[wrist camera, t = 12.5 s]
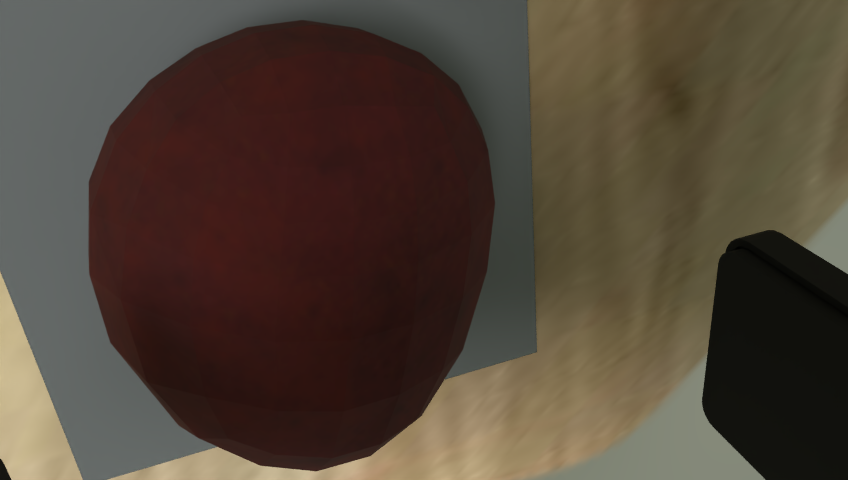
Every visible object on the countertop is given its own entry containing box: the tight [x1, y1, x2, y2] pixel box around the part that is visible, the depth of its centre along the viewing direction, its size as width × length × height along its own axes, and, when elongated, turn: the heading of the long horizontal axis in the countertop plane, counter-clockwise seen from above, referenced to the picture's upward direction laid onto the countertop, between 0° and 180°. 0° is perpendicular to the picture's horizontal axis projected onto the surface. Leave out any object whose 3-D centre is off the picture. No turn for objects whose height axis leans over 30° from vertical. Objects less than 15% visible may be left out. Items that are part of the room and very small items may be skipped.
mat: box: [0, 0, 537, 480], centre depth 18 cm, size 12×12×1 cm
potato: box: [88, 20, 495, 471], centre depth 15 cm, size 8×9×6 cm
